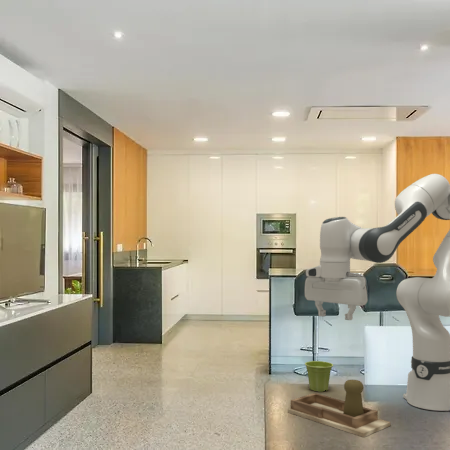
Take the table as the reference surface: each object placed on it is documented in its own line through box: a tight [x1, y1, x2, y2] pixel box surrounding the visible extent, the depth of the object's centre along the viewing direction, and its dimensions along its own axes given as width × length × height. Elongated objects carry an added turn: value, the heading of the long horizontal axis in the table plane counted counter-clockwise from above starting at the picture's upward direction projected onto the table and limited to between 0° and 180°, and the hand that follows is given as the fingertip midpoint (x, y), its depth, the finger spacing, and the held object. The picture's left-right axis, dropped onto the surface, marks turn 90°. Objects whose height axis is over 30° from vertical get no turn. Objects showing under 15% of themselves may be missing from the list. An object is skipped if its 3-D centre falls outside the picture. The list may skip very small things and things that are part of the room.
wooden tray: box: [287, 392, 392, 438], centre depth 155 cm, size 13×26×4 cm, turn 42°
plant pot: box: [304, 360, 334, 393], centre depth 185 cm, size 9×9×9 cm
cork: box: [343, 379, 364, 417], centre depth 151 cm, size 6×6×11 cm
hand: (335, 318), depth 162 cm, fingers open, 8 cm apart
